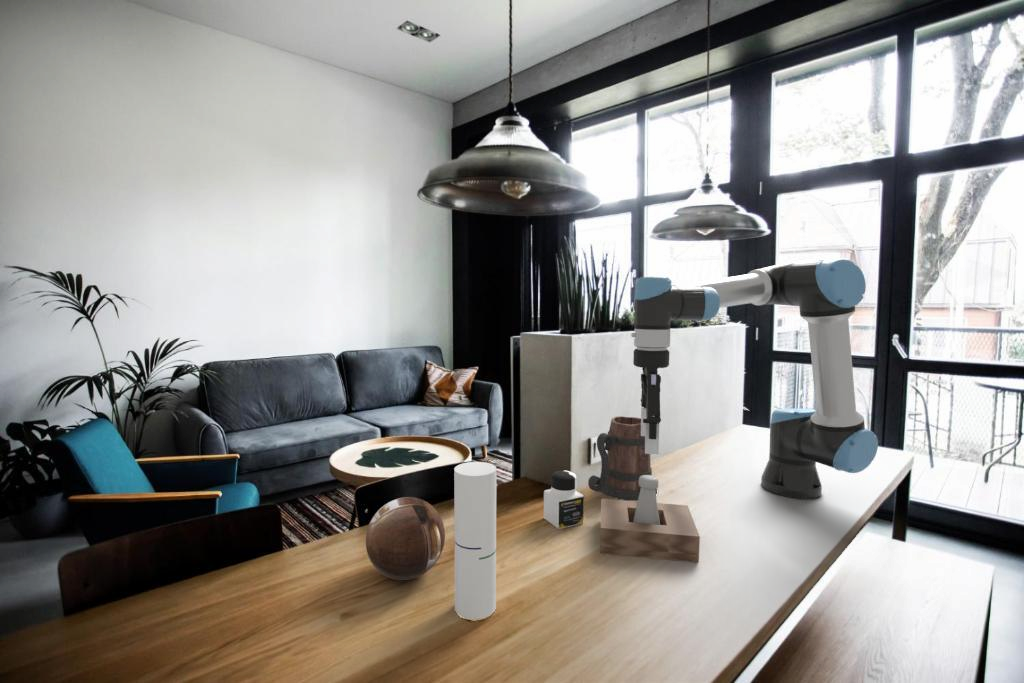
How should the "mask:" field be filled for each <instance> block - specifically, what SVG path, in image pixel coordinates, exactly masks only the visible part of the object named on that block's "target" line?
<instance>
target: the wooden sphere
mask: <svg viewBox="0 0 1024 683" xmlns="http://www.w3.org/2000/svg"><path fill="white" fill-rule="evenodd" d="M444 525H445V524H444V522H443V519H442V517H441V515H440V512H438V511H437V509H436V508H435V507H434V506H433V505H432V504H430V503H429V502H428V501H425V500H424V499H423V498H422V499H421V498H418V497H413V496H406V497H405V496H403V497H399V498H396V499H393V500H391V501H388V502H387V503H385V504H383V506H381V507H380V508H379V509H378V510H377V511H376V512H375V514H374V515H373V516H372V518H371V519H370V522H369V523H368V527H367V529H366V534H365V548H366V553H367V556H368V559H369V561H370V563H371V564H372V566H373V567H374V568H375V569H376V570H377V572H379V573H380V574H382V575H383V576H384V577H387V578H388V579H392V580H396V581H408V580H409V581H410V580H414V579H416V578H419V577H421V576H423V575H424V574H426V573H427V572H428V571H430V570H431V569H432V568H433V567H434V566H435V565H436V563H437V562H438V560H439V559H440V557H441V554H442V553H443V550H444V546H445V543H446V542H445V540H446V530H445V526H444Z"/></svg>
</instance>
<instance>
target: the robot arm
mask: <svg viewBox="0 0 1024 683" xmlns="http://www.w3.org/2000/svg"><path fill="white" fill-rule="evenodd" d="M866 284H867V283H866V279H865V275H864V273H863V271H862V269H861V267H859V265H858V264H856V263H855V262H854V261H853V260H852V259H847V258H843V257H841V258H839V257H838V258H835V257H828V258H827V257H825V258H815V259H807V260H796V261H795V260H793V261H792V260H791V261H787V262H783V263H779V264H775V265H770V266H767V267H762V268H757V269H753V270H752V269H751V271H749V272H748V273H747V274H741V275H735V276H734V275H733V276H728V277H722V278H721V277H720V278H714V279H707V280H700V281H693V282H692V281H691V282H686V283H680V284H673V285H672V279H671V277H668V276H644V277H639V278H637V280H635V287H634V296H633V306H634V317H633V318H634V323H633V324H634V326H633V327H634V332H631V334H630V335H631V338H634V340H633V345H634V347H636V348H635V349H634V350H633V359H632V360H633V365H634V366H635V367H637V368H642V373H641V374H640V383H641V386H640V388H641V396H640V397H641V398H640V402H641V404H640V406H641V410H640V412H641V413H640V418H641V436H645V454H650V455H659V453H660V452H659V451H660V448H659V447H660V446H659V445H660V444H659V443H660V423H661V421H662V418H661V382H662V377H661V375H660V373H659V374H658V369H664V368H665V369H667V368H668V367H670V350H669V349H668V348H669V347H671V346H670V345H671V322H674V321H689V322H690V321H698V322H702V321H708V320H712V319H714V318H715V317H716V316H717V314H719V311H720V309H722V308H727V307H733V306H734V307H735V306H741V305H747V304H752V305H754V306H763V305H780V306H790V307H792V306H793V307H799V315H800V317H801V319H802V320H805V321H806V322H807V326H808V327H807V328H808V337H809V339H808V340H809V346H810V347H809V348H810V357H811V367H812V368H811V369H812V379H813V380H812V381H813V389H814V398H815V401H814V402H815V409H814V408H813V409H812V408H795V407H794V408H793V407H792V408H779V409H775V410H773V412H772V414H771V418H770V419H771V420H770V424H769V426H770V429H769V456H768V461H767V463H766V466H765V467H764V470H763V473H761V474H762V475H761V479H760V485H761V486H762V488H764V489H765V490H767V491H768V492H770V493H773V494H776V495H779V496H783V497H787V498H788V497H789V498H794V499H815V498H819V497H821V496H822V489H823V486H822V482H821V479H820V476H819V472H818V470H817V464H816V463H818V464H821V465H824V466H827V467H829V468H833V469H834V470H836V471H839V472H840V471H841V472H845V473H849V474H857V473H861V472H863V471H865V470H866V469H867V468H869V467H870V465H871V464H872V462H873V461H874V459H875V457H876V455H877V452H878V448H879V440H878V437H877V435H876V434H875V433H874V432H873V431H872V430H870V429H868V428H866V427H865V419H864V416H863V415H862V414H861V413H860V412H858V411H857V409H856V406H857V405H856V393H855V384H854V383H855V382H854V370H853V369H854V368H853V358H852V346H851V336H850V334H851V333H850V325H849V324H850V323H849V319H850V317H851V316H852V315H853V314H854V313H855V312H856V306H857V305H859V304H860V303H861V302H862V301H863V299H864V294H865V292H866V288H867V287H866V286H867V285H866Z"/></svg>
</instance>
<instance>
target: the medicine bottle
mask: <svg viewBox="0 0 1024 683" xmlns="http://www.w3.org/2000/svg"><path fill="white" fill-rule="evenodd" d="M577 477H578V476H577V475H576V473H575V472H572V471H569V470H564V469H563V470H557V471H554V472H553V473H552V474H551V476H550V478H551V480H550V481H551V482H550V483H551V484H550V488H549V489H545V490H544V491H543V519H545V521H547V522H548V523H549V524H551V525H553V527H556V529H558V530H563V529H566V528H570V527H571V528H572V527H574V526H578V525H582V524H584V513H585V512H584V511H585V510H584V506H585V505H584V503H585V502H584V501H585V495H584V494H583V493H580V492H579V491H577Z"/></svg>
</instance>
